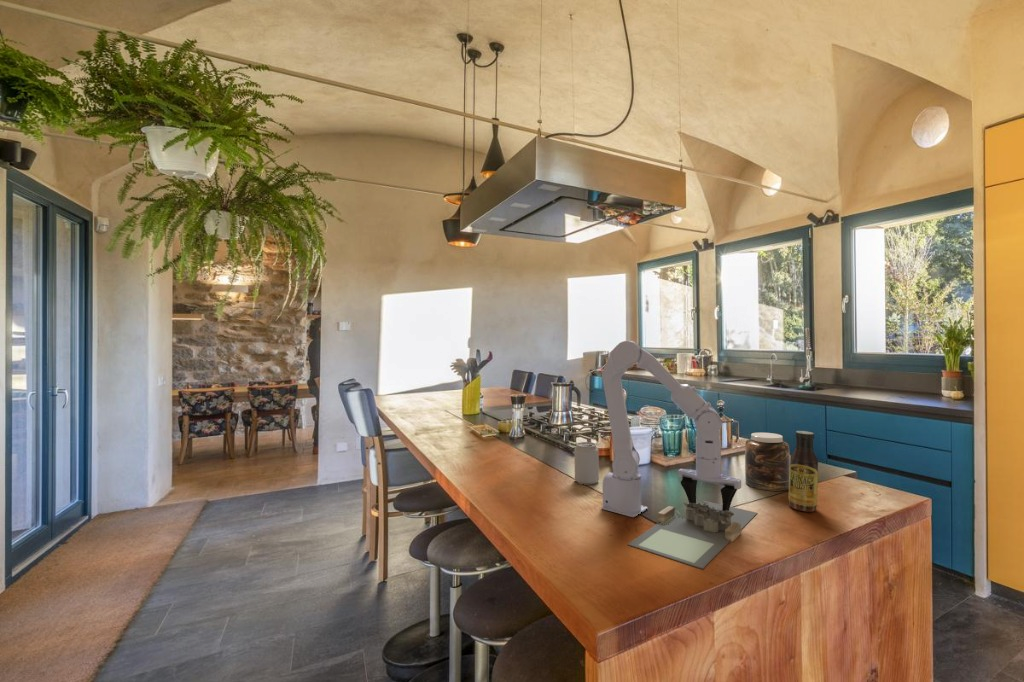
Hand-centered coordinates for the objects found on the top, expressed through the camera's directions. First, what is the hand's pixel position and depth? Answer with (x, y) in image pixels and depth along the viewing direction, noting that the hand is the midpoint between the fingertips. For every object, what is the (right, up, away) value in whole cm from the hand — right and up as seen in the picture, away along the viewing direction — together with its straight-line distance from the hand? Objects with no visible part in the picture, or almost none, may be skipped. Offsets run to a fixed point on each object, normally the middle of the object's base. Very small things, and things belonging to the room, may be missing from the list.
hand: (709, 511), depth 113 cm
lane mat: (-5, -2, -6) cm, 8 cm away
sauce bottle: (+27, -1, +5) cm, 27 cm away
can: (-25, -2, +30) cm, 39 cm away
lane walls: (-5, -2, -5) cm, 7 cm away
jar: (+28, -1, +24) cm, 37 cm away
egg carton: (-2, -2, -4) cm, 4 cm away
